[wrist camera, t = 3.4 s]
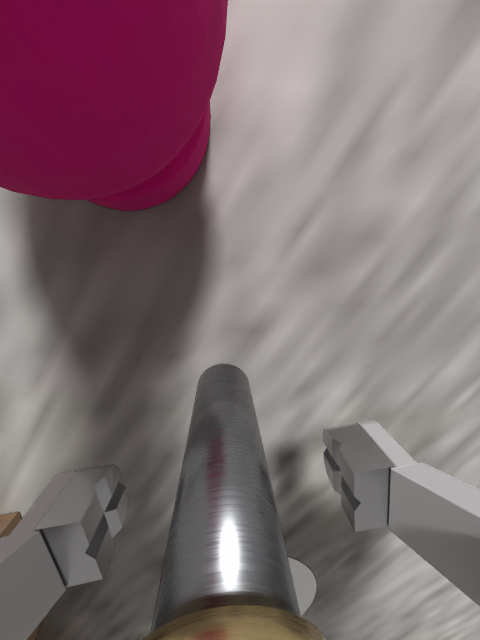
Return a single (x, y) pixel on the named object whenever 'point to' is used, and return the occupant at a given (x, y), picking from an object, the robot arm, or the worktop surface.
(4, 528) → the hinge
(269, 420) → the worktop surface
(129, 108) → the pepper mill
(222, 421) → the hinge pin
